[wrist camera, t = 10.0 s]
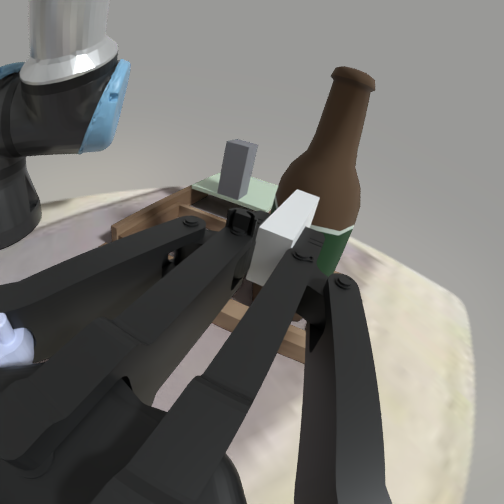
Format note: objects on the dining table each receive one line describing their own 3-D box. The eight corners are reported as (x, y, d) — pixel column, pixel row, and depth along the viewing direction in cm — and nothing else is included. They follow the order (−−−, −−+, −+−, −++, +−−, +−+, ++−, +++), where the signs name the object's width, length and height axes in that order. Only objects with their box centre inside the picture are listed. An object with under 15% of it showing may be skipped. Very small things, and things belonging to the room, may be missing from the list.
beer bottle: (238, 278, 32) (292, 55, 19) (295, 273, 35) (357, 81, 22) (265, 330, 26) (353, 56, 13) (327, 316, 29) (418, 96, 16)
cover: (191, 188, 42) (199, 134, 38) (227, 172, 53) (235, 129, 48) (265, 214, 40) (280, 156, 35) (287, 192, 50) (300, 147, 45)
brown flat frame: (95, 257, 29) (92, 236, 27) (203, 194, 50) (205, 178, 48) (323, 370, 23) (336, 351, 21) (348, 248, 44) (355, 233, 42)
